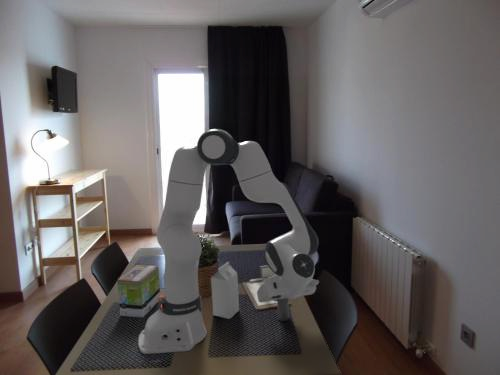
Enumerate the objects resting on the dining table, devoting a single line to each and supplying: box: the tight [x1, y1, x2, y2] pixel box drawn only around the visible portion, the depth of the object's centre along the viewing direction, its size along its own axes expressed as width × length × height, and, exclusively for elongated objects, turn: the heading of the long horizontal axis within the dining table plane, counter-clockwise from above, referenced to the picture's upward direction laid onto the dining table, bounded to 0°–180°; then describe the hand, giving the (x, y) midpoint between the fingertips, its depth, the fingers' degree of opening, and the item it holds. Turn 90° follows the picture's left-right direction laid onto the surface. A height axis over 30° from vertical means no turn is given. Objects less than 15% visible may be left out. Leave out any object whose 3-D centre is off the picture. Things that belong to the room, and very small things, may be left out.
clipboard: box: [241, 277, 292, 312], centre depth 156 cm, size 14×24×2 cm, turn 14°
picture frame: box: [259, 264, 277, 278], centre depth 170 cm, size 8×1×6 cm, turn 104°
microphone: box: [277, 298, 290, 322], centre depth 136 cm, size 4×4×13 cm
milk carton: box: [210, 261, 240, 320], centre depth 141 cm, size 7×7×19 cm
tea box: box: [117, 264, 161, 318], centre depth 148 cm, size 15×10×15 cm
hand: (282, 298), depth 136 cm, fingers closed on microphone, 4 cm apart
